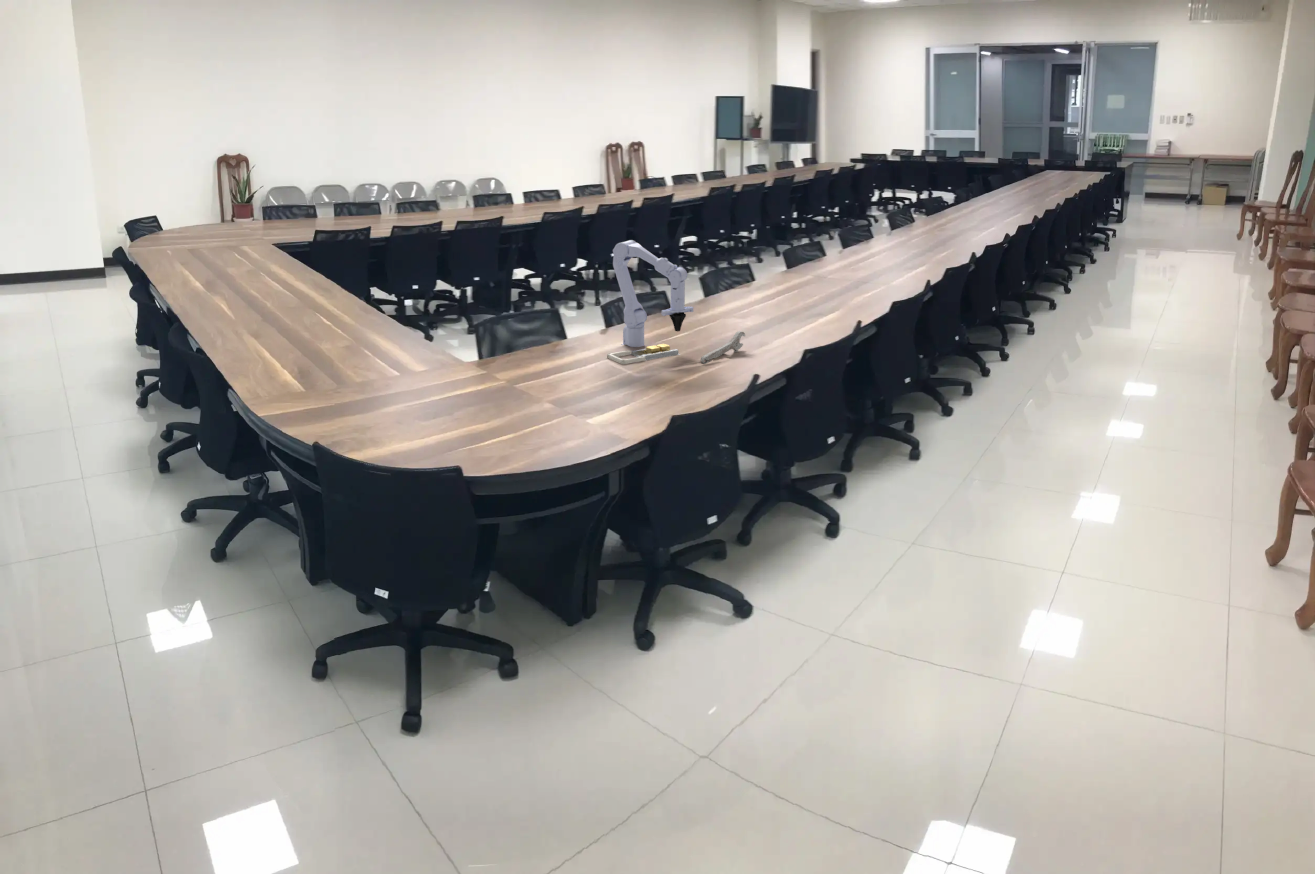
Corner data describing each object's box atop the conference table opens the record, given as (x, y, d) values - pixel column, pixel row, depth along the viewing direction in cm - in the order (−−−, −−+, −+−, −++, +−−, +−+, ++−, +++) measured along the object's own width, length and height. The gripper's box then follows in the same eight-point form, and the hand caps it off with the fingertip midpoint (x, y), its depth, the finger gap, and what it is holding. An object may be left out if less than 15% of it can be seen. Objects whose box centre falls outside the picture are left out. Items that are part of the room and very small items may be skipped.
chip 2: (656, 352, 372) (656, 345, 371) (664, 350, 374) (664, 343, 373) (661, 354, 369) (661, 347, 368) (669, 353, 371) (669, 345, 370)
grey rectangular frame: (607, 360, 365) (607, 354, 364) (629, 356, 370) (629, 350, 370) (622, 366, 356) (622, 360, 355) (645, 362, 361) (645, 356, 360)
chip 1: (646, 354, 370) (646, 346, 369) (654, 352, 372) (654, 345, 371) (651, 356, 367) (651, 349, 366) (659, 354, 369) (659, 347, 368)
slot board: (629, 356, 370) (629, 350, 370) (664, 350, 379) (664, 344, 378) (645, 362, 361) (645, 356, 360) (680, 356, 370) (680, 350, 369)
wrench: (700, 370, 362) (742, 347, 382) (704, 371, 360) (745, 348, 381) (699, 351, 358) (741, 329, 379) (703, 352, 357) (745, 329, 378)
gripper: (668, 301, 361) (668, 335, 366) (697, 297, 369) (697, 330, 373) (658, 298, 367) (658, 331, 371) (687, 294, 374) (687, 327, 379)
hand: (677, 331), depth 373 cm, fingers closed
